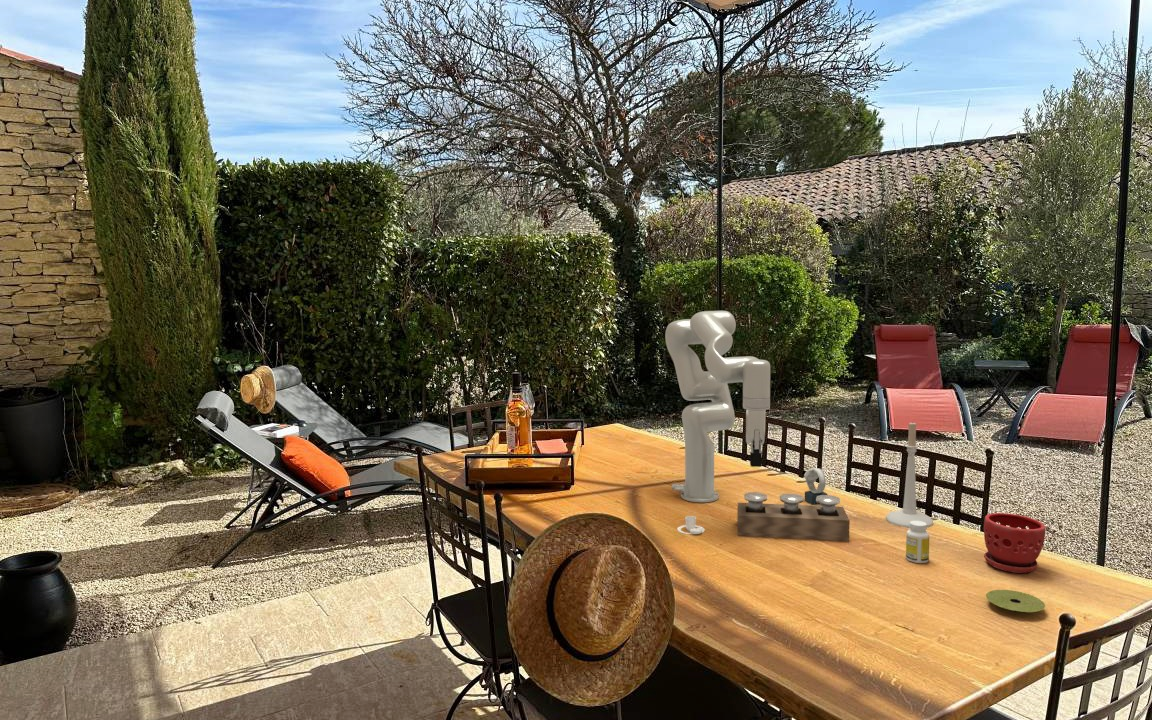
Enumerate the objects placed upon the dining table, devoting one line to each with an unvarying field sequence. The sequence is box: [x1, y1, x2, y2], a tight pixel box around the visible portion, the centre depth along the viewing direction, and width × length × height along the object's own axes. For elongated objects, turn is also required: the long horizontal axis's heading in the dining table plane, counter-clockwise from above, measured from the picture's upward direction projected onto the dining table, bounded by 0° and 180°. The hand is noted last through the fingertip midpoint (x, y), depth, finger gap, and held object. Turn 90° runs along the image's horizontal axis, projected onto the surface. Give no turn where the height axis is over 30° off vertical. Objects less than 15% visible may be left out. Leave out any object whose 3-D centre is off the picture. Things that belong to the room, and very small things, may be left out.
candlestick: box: [885, 421, 934, 529], centre depth 219 cm, size 13×13×30 cm
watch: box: [803, 467, 828, 506], centre depth 240 cm, size 6×8×11 cm
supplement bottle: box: [905, 521, 930, 564], centre depth 191 cm, size 5×5×10 cm
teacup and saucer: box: [676, 515, 706, 535], centre depth 217 cm, size 9×8×4 cm
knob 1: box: [743, 491, 768, 513], centre depth 215 cm, size 6×6×5 cm
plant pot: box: [983, 512, 1046, 574], centre depth 186 cm, size 13×13×12 cm
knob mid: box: [779, 493, 804, 514], centre depth 213 cm, size 6×6×5 cm
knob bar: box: [736, 502, 851, 542], centre depth 214 cm, size 30×12×6 cm, turn 79°
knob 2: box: [816, 494, 841, 516], centre depth 211 cm, size 6×6×5 cm
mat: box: [985, 589, 1046, 613], centre depth 164 cm, size 11×11×2 cm
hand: (755, 465), depth 214 cm, fingers closed
